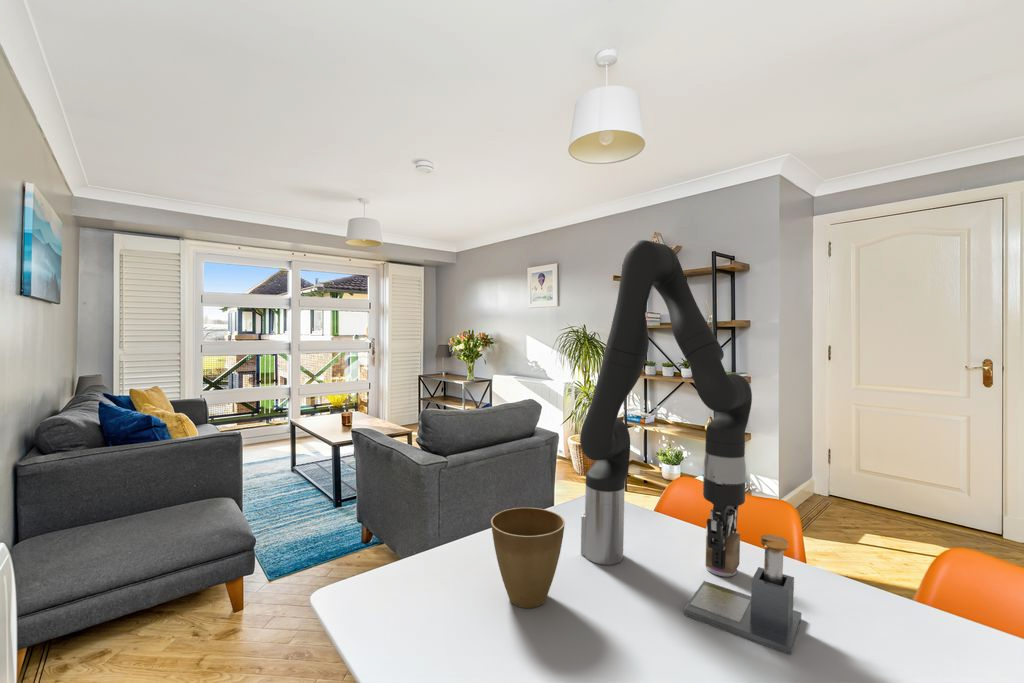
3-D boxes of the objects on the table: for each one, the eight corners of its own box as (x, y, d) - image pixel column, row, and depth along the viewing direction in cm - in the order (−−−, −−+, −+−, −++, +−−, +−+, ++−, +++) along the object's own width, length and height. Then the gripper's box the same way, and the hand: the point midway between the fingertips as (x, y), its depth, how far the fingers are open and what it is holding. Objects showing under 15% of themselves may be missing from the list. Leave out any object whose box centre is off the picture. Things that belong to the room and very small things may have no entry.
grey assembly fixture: (683, 614, 93) (685, 567, 92) (703, 586, 103) (705, 544, 103) (790, 655, 82) (792, 602, 81) (801, 618, 92) (802, 571, 92)
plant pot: (572, 588, 101) (574, 513, 101) (547, 628, 88) (549, 542, 87) (509, 572, 108) (510, 501, 107) (476, 607, 94) (477, 526, 94)
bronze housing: (705, 566, 94) (706, 535, 94) (712, 556, 98) (713, 527, 98) (733, 574, 91) (733, 543, 91) (739, 564, 95) (740, 534, 95)
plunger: (756, 599, 89) (758, 540, 88) (761, 588, 92) (763, 532, 92) (783, 607, 86) (786, 547, 86) (787, 597, 89) (789, 538, 89)
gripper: (714, 464, 102) (712, 543, 102) (693, 481, 90) (691, 570, 91) (753, 471, 97) (751, 554, 98) (735, 490, 86) (733, 583, 86)
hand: (722, 561), depth 94 cm, fingers closed on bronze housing, 5 cm apart
